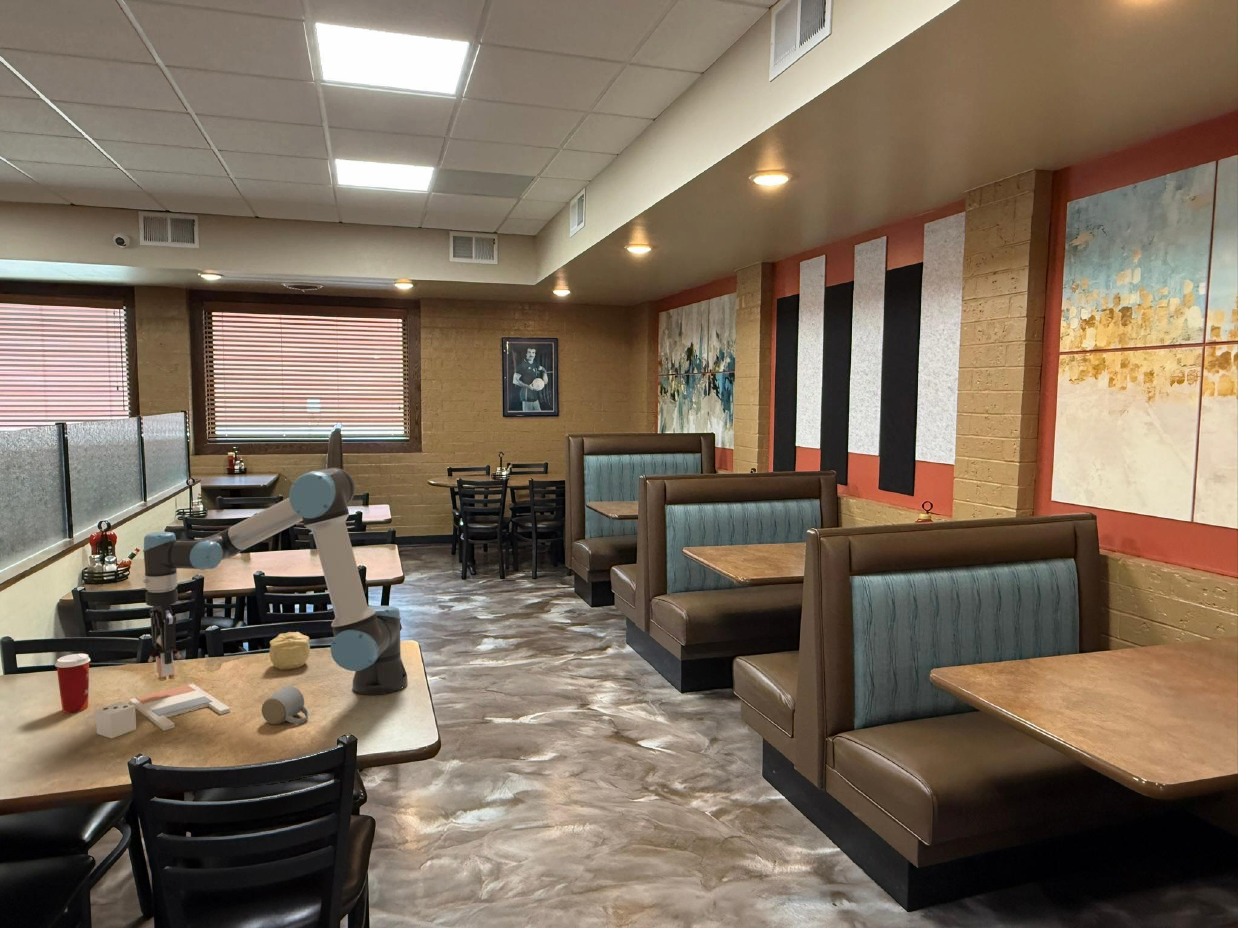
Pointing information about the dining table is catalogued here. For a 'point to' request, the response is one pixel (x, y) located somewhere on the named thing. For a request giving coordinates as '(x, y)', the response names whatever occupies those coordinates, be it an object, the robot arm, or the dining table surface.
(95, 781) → the dining table surface
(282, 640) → the pale yellow rounded lump
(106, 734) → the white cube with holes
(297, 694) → the ceramic mug
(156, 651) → the grandmother figurine
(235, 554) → the robot arm
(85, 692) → the paper cup
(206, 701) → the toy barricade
